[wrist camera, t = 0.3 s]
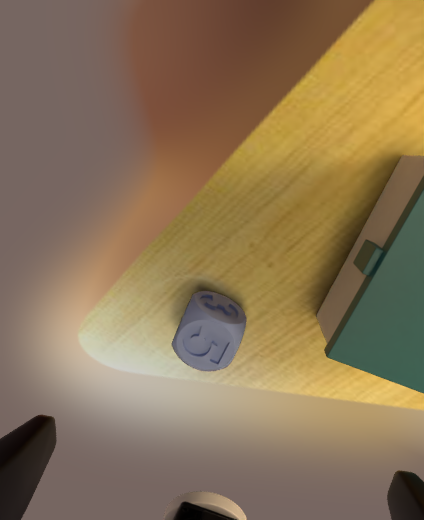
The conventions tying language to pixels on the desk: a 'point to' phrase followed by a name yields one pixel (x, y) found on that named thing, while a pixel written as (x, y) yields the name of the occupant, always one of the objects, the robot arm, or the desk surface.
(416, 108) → the desk surface
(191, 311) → the decorative dice
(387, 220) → the box
